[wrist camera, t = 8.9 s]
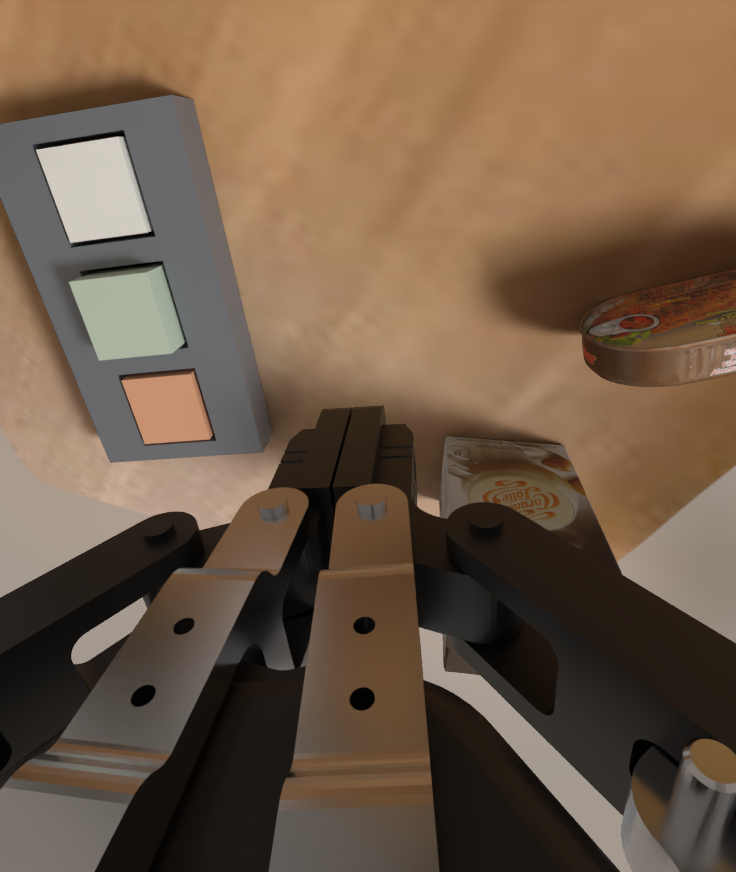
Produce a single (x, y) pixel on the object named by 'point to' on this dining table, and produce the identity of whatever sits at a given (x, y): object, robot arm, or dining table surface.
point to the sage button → (129, 311)
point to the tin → (665, 333)
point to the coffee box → (519, 497)
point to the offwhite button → (96, 189)
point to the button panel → (171, 243)
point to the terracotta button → (168, 406)
